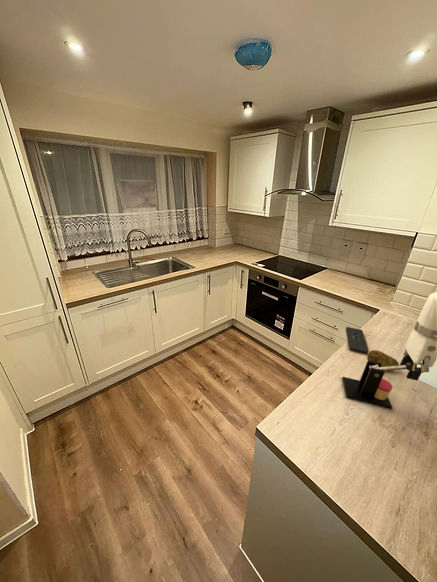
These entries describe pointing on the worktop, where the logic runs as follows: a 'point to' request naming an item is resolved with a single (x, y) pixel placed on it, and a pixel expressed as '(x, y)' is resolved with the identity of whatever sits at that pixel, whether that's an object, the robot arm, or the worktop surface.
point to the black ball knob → (394, 367)
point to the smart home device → (356, 340)
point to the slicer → (366, 386)
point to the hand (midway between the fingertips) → (408, 372)
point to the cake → (383, 390)
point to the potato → (382, 359)
